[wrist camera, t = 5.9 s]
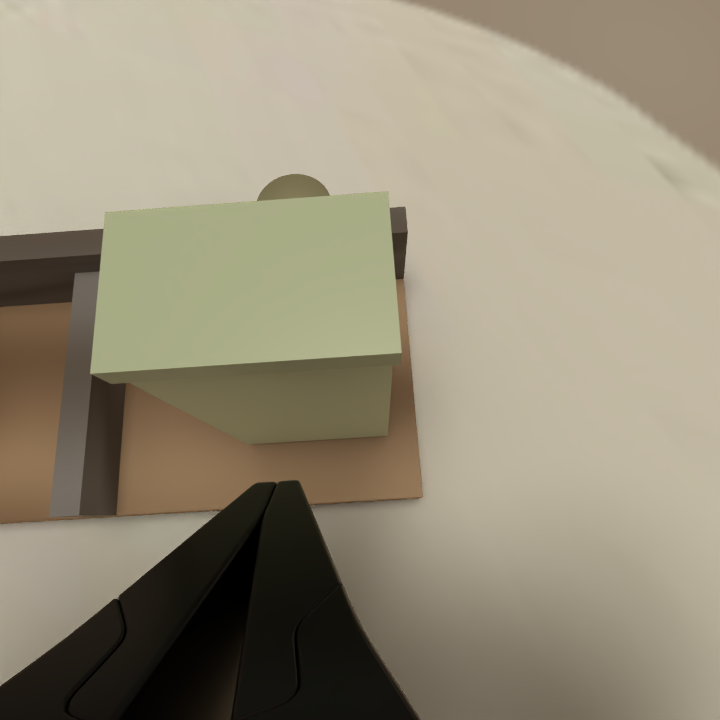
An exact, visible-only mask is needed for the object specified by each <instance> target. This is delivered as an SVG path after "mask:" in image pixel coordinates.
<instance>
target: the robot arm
mask: <svg viewBox="0 0 720 720" xmlns="http://www.w3.org/2000/svg"><path fill="white" fill-rule="evenodd" d="M118 600H119V601H118ZM0 720H421V719H420V718H419V716H418V715H417V713H416V712H415V710H414V708H413V707H412V705H411V704H410V702H409V701H408V699H407V698H406V696H405V694H404V693H403V691H402V690H401V688H400V687H399V685H398V684H397V682H396V681H395V679H394V677H393V676H392V674H391V673H390V671H389V670H388V668H387V667H386V665H385V663H384V662H383V660H382V659H381V657H380V656H379V654H378V653H377V651H376V649H375V648H374V646H373V644H372V643H371V641H370V639H369V637H368V636H367V634H366V632H365V631H364V629H363V627H362V625H361V623H360V621H359V619H358V617H357V615H356V613H355V611H354V609H353V607H352V604H351V602H350V600H349V598H348V595H347V593H346V590H345V588H344V587H343V584H342V582H341V580H340V577H339V575H338V572H337V570H336V568H335V565H334V563H333V560H332V558H331V556H330V553H329V551H328V548H327V546H326V544H325V541H324V539H323V536H322V534H321V532H320V529H319V527H318V524H317V522H316V519H315V517H314V515H313V512H312V510H311V507H310V505H309V503H308V500H307V498H306V495H305V493H304V491H303V488H302V486H301V483H300V482H299V481H298V480H288V481H279V482H278V483H276V482H273V481H272V482H257V483H255V484H253V485H252V486H251V487H249V488H248V489H247V490H246V491H245V492H243V493H242V494H241V495H240V496H239V497H237V498H236V499H235V500H234V501H233V502H231V503H230V504H229V505H228V506H227V507H225V508H224V509H223V510H222V511H221V512H219V513H218V514H217V515H216V516H215V517H213V518H212V519H211V520H210V521H209V522H207V523H206V524H205V525H204V526H203V527H201V528H200V529H199V530H198V531H196V532H195V533H194V534H193V535H192V536H190V537H189V538H188V539H187V540H186V541H184V542H183V543H182V544H181V545H180V546H178V547H177V548H176V549H175V550H174V551H172V552H171V553H170V554H169V555H168V556H166V557H165V558H164V559H163V560H162V561H160V562H159V563H158V564H157V565H156V566H154V567H153V568H152V569H151V570H149V571H148V572H147V573H146V574H145V575H143V576H142V577H141V578H140V579H139V580H137V581H136V582H135V583H134V584H133V585H131V586H130V587H129V588H128V589H127V590H125V591H124V592H123V593H122V594H121V595H119V597H118V599H113V600H112V601H111V602H110V603H109V604H107V605H106V606H105V607H104V608H102V609H101V610H100V611H99V612H98V613H96V614H95V615H94V616H93V617H91V618H90V619H89V620H88V621H86V622H85V623H84V624H83V625H81V626H80V627H79V628H78V629H76V630H75V631H74V632H73V633H71V634H70V635H69V636H68V637H66V638H65V639H64V640H62V641H61V642H60V643H58V644H57V645H56V646H54V647H53V648H52V649H50V650H49V651H48V652H46V653H45V654H44V655H42V656H41V657H40V658H38V659H37V660H36V661H34V662H33V663H31V664H30V665H29V666H27V667H26V668H25V669H23V670H22V671H21V672H19V673H18V674H16V675H15V676H14V677H12V678H11V679H9V680H8V681H7V682H5V683H4V684H2V685H1V686H0Z"/></svg>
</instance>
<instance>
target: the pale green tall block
mask: <svg viewBox="0 0 720 720" xmlns="http://www.w3.org/2000/svg"><path fill="white" fill-rule="evenodd" d="M401 355H402V351H401V339H400V327H399V315H398V303H397V291H396V279H395V267H394V255H393V243H392V231H391V219H390V207H389V195H388V191H387V192H373V193H360V194H346V195H333V196H319V197H306V198H292V199H278V200H265V201H251V202H238V203H224V204H211V205H197V206H184V207H170V208H156V209H143V210H129V211H116V212H105V219H104V230H103V241H102V251H101V262H100V273H99V284H98V294H97V305H96V316H95V327H94V337H93V348H92V359H91V370H90V374H92V375H94V376H96V377H98V378H100V379H102V380H104V381H106V382H108V383H110V384H118V383H130V384H132V385H134V386H136V387H138V388H140V389H142V390H144V391H146V392H148V393H149V394H151V395H153V396H155V397H157V398H159V399H161V400H163V401H165V402H167V403H169V404H171V405H172V406H174V407H176V408H178V409H180V410H182V411H184V412H186V413H188V414H190V415H192V416H194V417H195V418H197V419H199V420H201V421H203V422H205V423H207V424H209V425H211V426H213V427H215V428H216V429H218V430H220V431H222V432H224V433H226V434H228V435H230V436H232V437H234V438H236V439H238V440H239V441H241V442H243V443H245V444H247V445H249V444H265V443H281V442H297V441H313V440H329V439H344V438H360V437H376V436H388V425H389V411H390V396H391V382H392V368H393V365H400V363H401Z"/></svg>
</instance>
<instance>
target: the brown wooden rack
mask: <svg viewBox="0 0 720 720" xmlns="http://www.w3.org/2000/svg"><path fill="white" fill-rule="evenodd" d="M319 196H330V195H329V193H328V191H327V189H326V188H325V187H324V185H323V184H321V183H320V182H319V181H318V180H316V179H314V178H312V177H310V176H306V175H301V174H291V175H286V176H282V177H279V178H277V179H275V180H273V181H272V182H270V183H269V184H268V185H267V186H266V187H265V188H264V189H263V190H262V192H261V193H260V195H259V197H258V199H257V201H265V200H278V199H292V198H306V197H319ZM390 219H391V231H392V243H393V255H394V267H395V279H396V291H397V303H398V315H399V327H400V339H401V351H402V355H401V363H400V365H393V368H392V382H391V396H390V411H389V425H388V436H376V437H360V438H344V439H329V440H313V441H297V442H281V443H265V444H249V445H247V444H245V443H243V442H241V441H239V440H238V439H236V438H234V437H232V436H230V435H228V434H226V433H224V432H222V431H220V430H218V429H216V428H215V427H213V426H211V425H209V424H207V423H205V422H203V421H201V420H199V419H197V418H195V417H194V416H192V415H190V414H188V413H186V412H184V411H182V410H180V409H178V408H176V407H174V406H172V405H171V404H169V403H167V402H165V401H163V400H161V399H159V398H157V397H155V396H153V395H151V394H149V393H148V392H146V391H144V390H142V389H140V388H138V387H136V386H134V385H132V384H130V383H118V384H110V383H108V382H106V381H104V380H102V379H100V378H98V377H96V376H94V375H92V374H90V370H91V359H92V348H93V337H94V327H95V316H96V305H97V294H98V284H99V273H100V262H101V251H102V241H103V230H104V229H94V230H81V231H67V232H53V233H40V234H26V235H12V236H0V524H3V523H20V522H37V521H53V520H70V519H86V518H103V517H119V516H136V515H153V514H169V513H186V512H202V511H219V510H223V509H224V508H225V507H227V506H228V505H229V504H230V503H231V502H233V501H234V500H235V499H236V498H237V497H239V496H240V495H241V494H242V493H243V492H245V491H246V490H247V489H248V488H249V487H251V486H252V485H253V484H255V483H257V482H272V481H273V482H276V483H278V482H279V481H288V480H298V481H299V482H300V483H301V486H302V488H303V491H304V493H305V495H306V498H307V500H308V503H309V505H318V504H335V503H351V502H368V501H384V500H401V499H418V498H421V497H423V494H422V483H421V472H420V460H419V449H418V438H417V426H416V415H415V404H414V392H413V381H412V370H411V359H410V347H409V336H408V325H407V313H406V302H405V291H404V280H403V278H404V267H405V256H406V245H407V234H408V230H407V220H406V209H405V207H396V208H390Z"/></svg>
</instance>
